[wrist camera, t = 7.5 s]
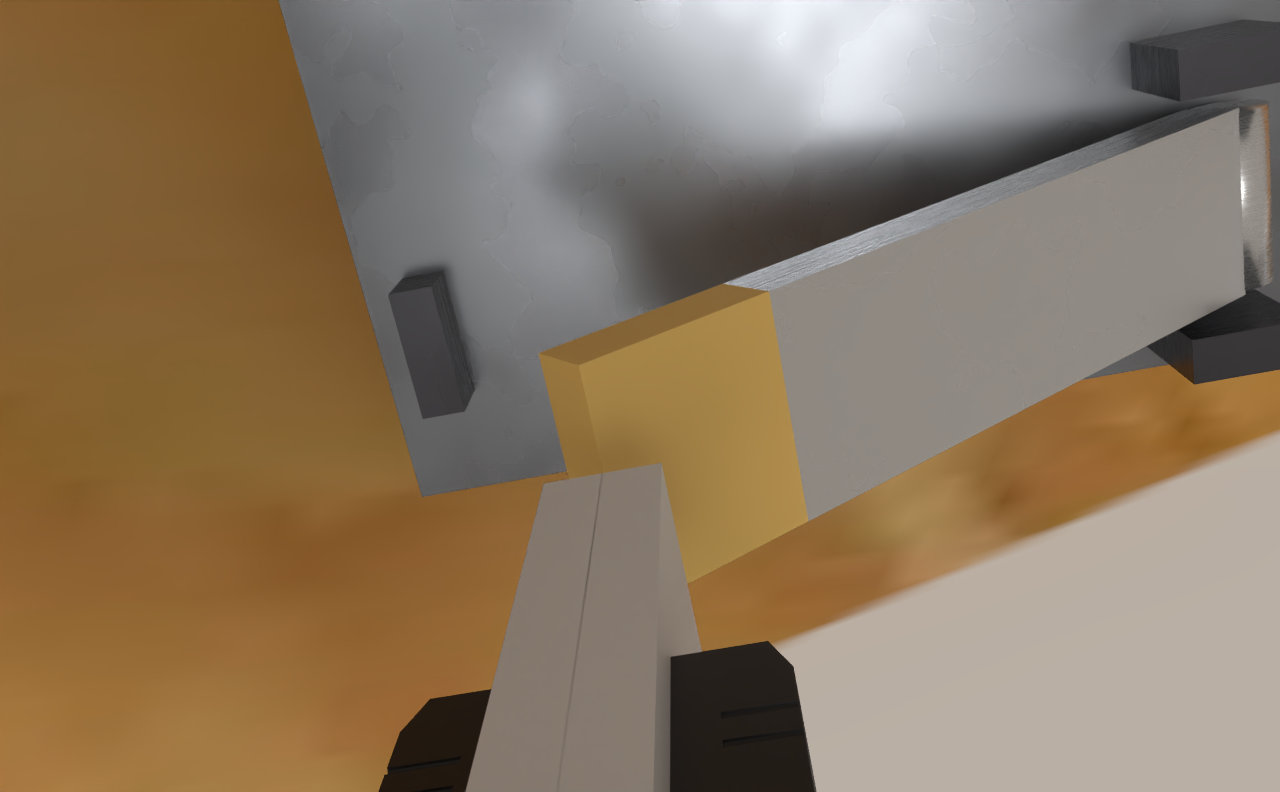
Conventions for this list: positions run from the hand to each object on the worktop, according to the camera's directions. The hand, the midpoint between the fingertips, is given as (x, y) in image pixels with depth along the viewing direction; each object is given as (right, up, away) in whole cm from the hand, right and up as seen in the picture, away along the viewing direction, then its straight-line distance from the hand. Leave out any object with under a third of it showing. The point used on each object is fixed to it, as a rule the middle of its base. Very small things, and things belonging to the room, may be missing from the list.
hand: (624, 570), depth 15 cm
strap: (+6, +4, +8) cm, 10 cm away
